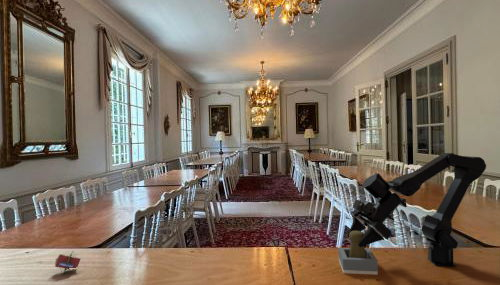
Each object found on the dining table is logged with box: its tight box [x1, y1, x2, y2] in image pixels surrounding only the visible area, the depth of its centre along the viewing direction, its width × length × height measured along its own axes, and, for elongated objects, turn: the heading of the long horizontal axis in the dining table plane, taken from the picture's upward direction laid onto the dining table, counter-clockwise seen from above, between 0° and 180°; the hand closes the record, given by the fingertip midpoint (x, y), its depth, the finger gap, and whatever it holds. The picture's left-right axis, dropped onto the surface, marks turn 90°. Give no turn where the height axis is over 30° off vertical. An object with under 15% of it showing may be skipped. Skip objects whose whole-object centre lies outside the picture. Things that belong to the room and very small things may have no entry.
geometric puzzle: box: [54, 251, 81, 271], centre depth 105 cm, size 7×7×8 cm
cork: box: [348, 231, 366, 258], centre depth 103 cm, size 6×6×11 cm
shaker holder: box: [338, 247, 379, 275], centre depth 103 cm, size 11×11×4 cm
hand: (353, 241), depth 102 cm, fingers open, 9 cm apart
